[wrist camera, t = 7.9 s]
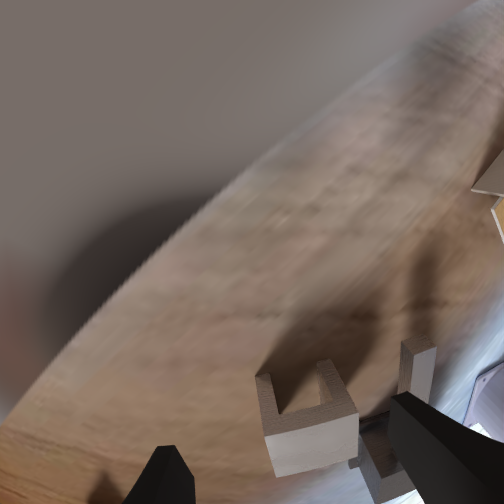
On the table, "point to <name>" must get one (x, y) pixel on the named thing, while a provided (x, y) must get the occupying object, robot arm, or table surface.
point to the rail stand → (376, 428)
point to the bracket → (310, 425)
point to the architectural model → (494, 189)
